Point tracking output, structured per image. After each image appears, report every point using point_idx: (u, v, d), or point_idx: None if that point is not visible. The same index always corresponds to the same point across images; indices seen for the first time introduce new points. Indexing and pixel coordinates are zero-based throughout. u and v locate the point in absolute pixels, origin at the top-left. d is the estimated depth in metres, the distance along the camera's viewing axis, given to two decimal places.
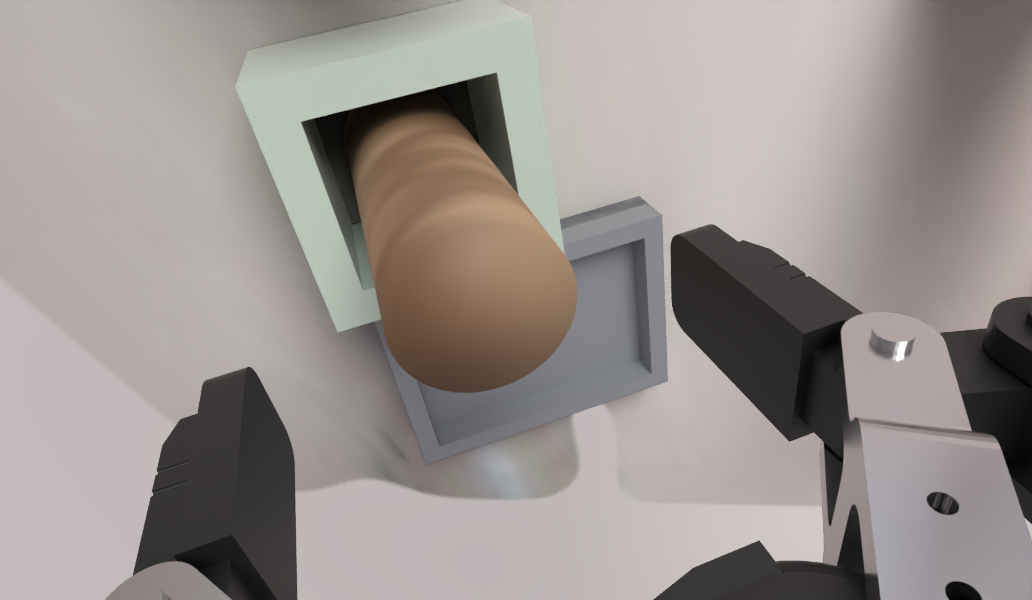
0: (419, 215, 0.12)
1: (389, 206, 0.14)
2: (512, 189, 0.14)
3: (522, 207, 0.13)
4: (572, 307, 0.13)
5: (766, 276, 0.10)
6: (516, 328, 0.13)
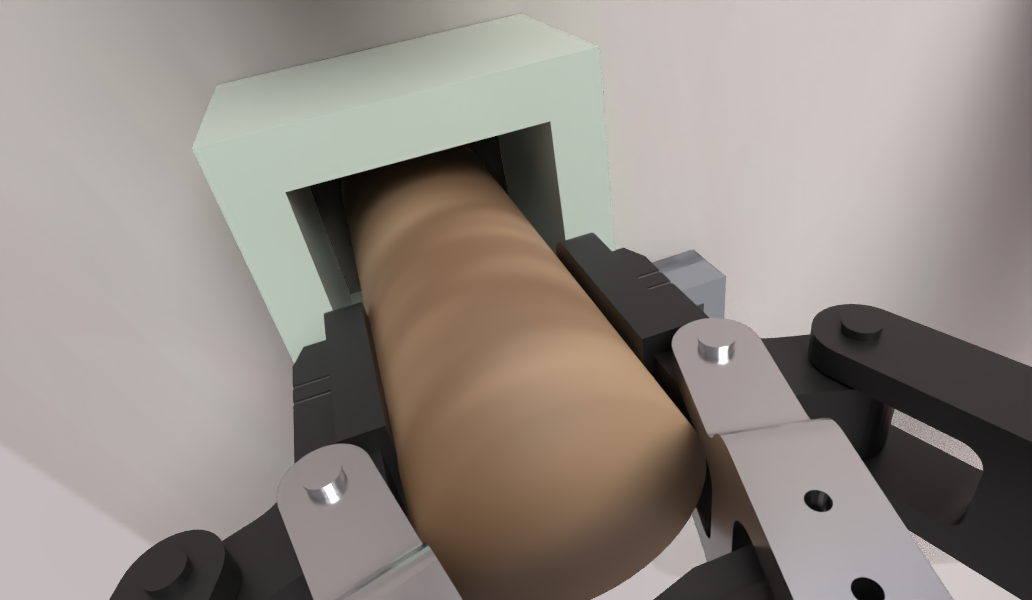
0: (470, 371, 0.08)
1: (416, 338, 0.09)
2: (590, 301, 0.10)
3: (619, 344, 0.09)
4: (696, 495, 0.09)
5: (625, 283, 0.10)
6: (612, 532, 0.09)
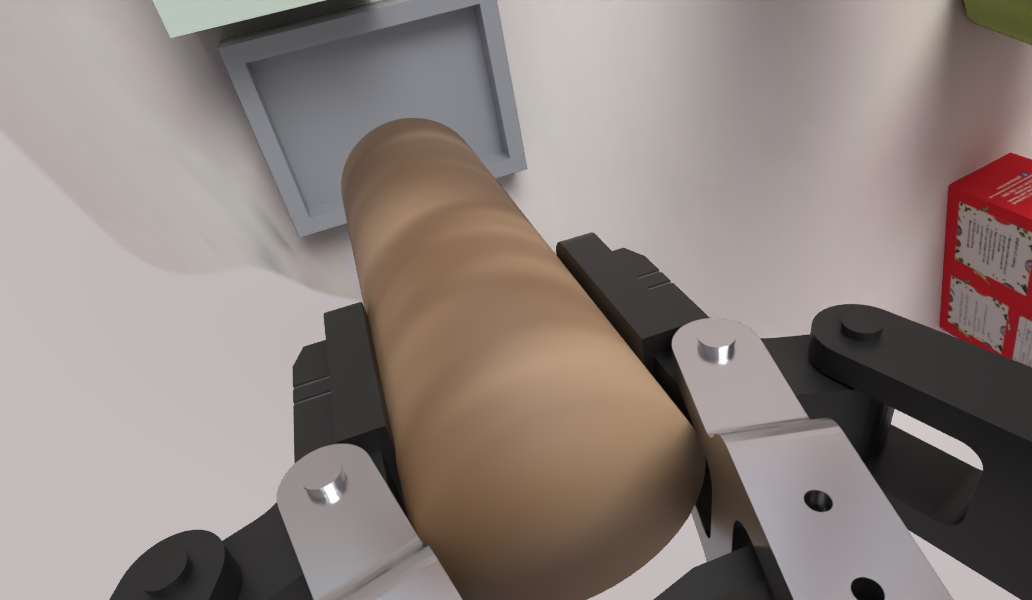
0: (468, 369, 0.08)
1: (415, 336, 0.09)
2: (589, 299, 0.10)
3: (618, 342, 0.09)
4: (695, 494, 0.09)
5: (625, 283, 0.10)
6: (612, 529, 0.09)
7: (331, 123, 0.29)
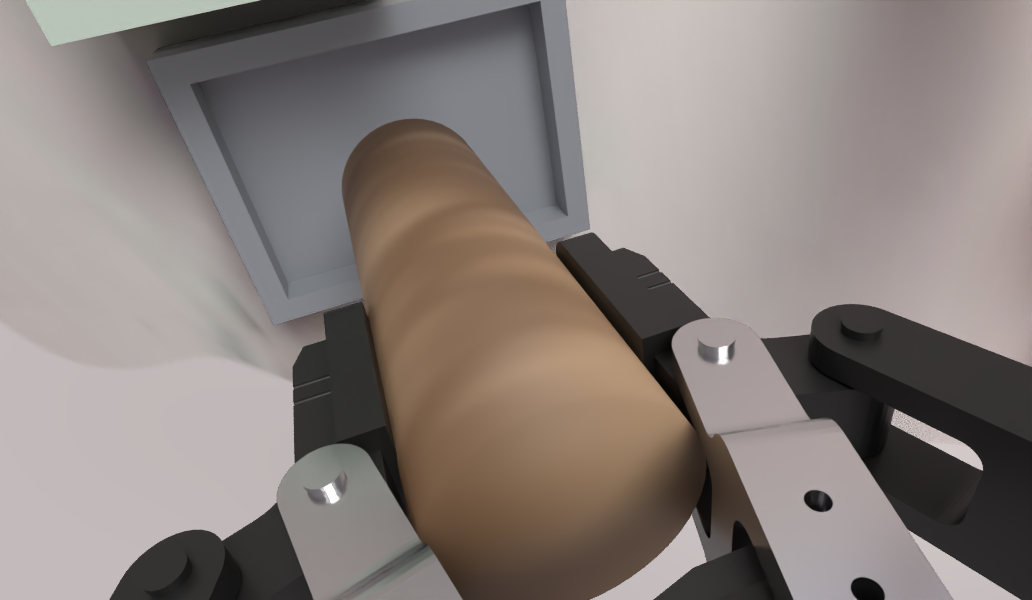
0: (469, 371, 0.08)
1: (416, 338, 0.09)
2: (590, 301, 0.10)
3: (619, 344, 0.09)
4: (696, 495, 0.09)
5: (625, 283, 0.10)
6: (612, 531, 0.09)
7: (320, 168, 0.21)
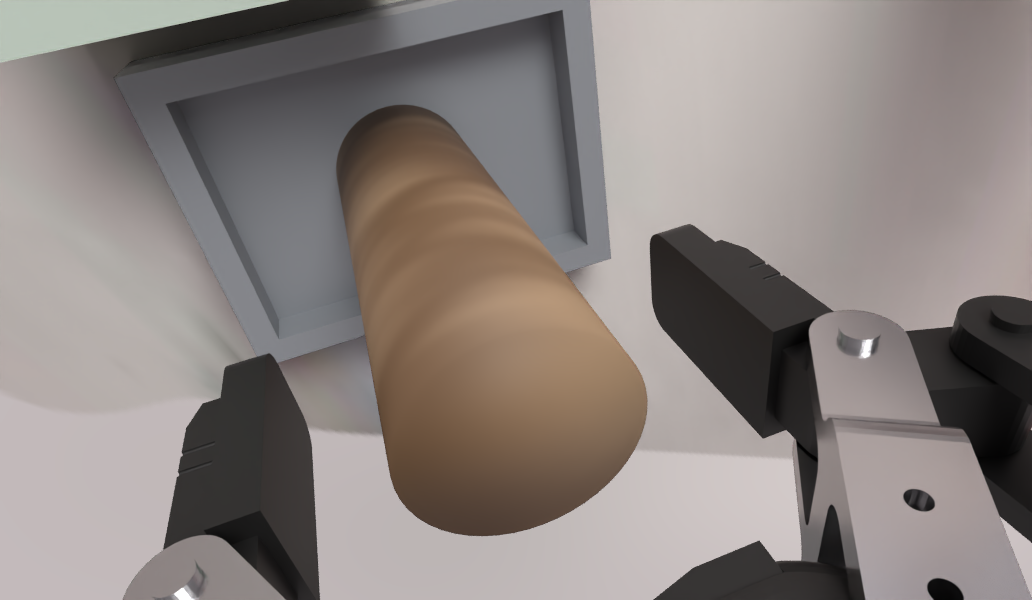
0: (437, 310, 0.09)
1: (394, 288, 0.10)
2: (552, 259, 0.11)
3: (572, 292, 0.10)
4: (639, 426, 0.10)
5: (740, 275, 0.10)
6: (565, 456, 0.10)
7: (315, 194, 0.19)
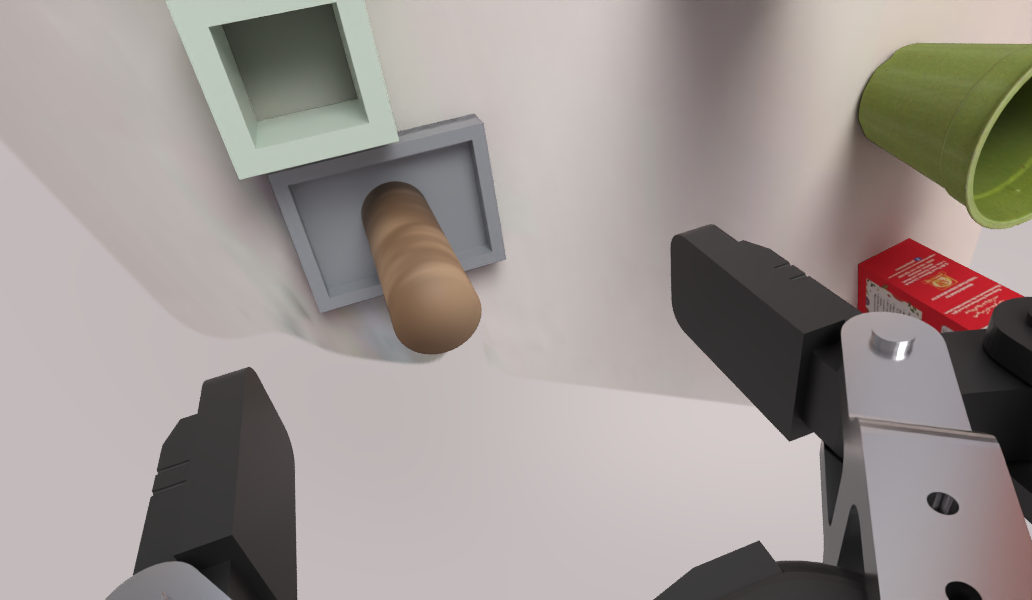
0: (409, 272, 0.27)
1: (394, 266, 0.29)
2: (453, 256, 0.30)
3: (456, 267, 0.28)
4: (479, 314, 0.28)
5: (766, 276, 0.10)
6: (453, 324, 0.28)
7: (350, 224, 0.37)
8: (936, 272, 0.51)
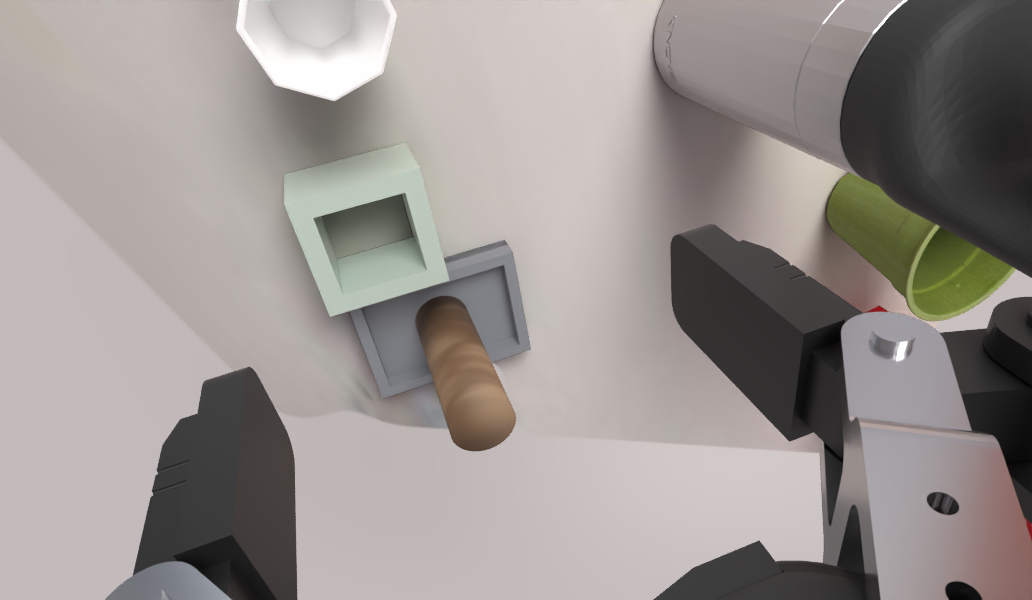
0: (461, 393, 0.37)
1: (449, 384, 0.38)
2: (493, 373, 0.39)
3: (496, 386, 0.37)
4: (514, 421, 0.37)
5: (766, 276, 0.10)
6: (494, 429, 0.37)
7: (406, 329, 0.46)
8: None
